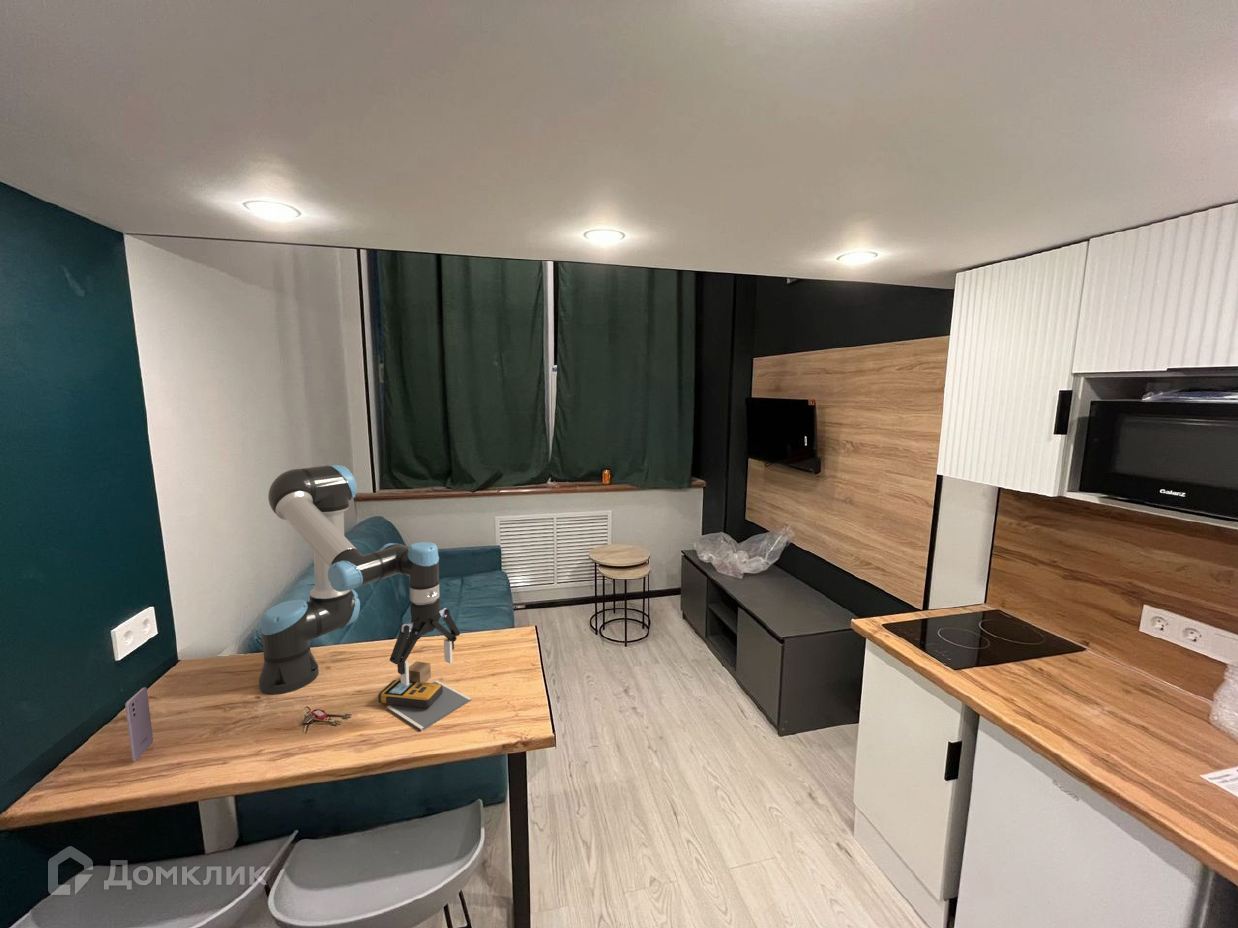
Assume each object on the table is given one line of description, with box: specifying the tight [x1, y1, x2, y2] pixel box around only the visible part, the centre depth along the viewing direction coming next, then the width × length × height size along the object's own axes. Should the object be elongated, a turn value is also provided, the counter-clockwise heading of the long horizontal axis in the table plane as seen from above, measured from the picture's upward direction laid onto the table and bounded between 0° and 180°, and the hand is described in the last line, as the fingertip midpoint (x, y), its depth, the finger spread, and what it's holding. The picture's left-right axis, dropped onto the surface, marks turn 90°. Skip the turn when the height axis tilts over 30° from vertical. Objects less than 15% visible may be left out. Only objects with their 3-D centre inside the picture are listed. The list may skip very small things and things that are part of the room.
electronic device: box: [377, 679, 443, 708], centre depth 139 cm, size 8×16×3 cm, turn 79°
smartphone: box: [124, 687, 154, 762], centre depth 117 cm, size 7×1×15 cm, turn 18°
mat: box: [386, 680, 472, 732], centre depth 137 cm, size 16×16×1 cm
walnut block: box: [409, 660, 432, 683], centre depth 148 cm, size 5×5×5 cm
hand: (427, 672), depth 136 cm, fingers open, 13 cm apart
